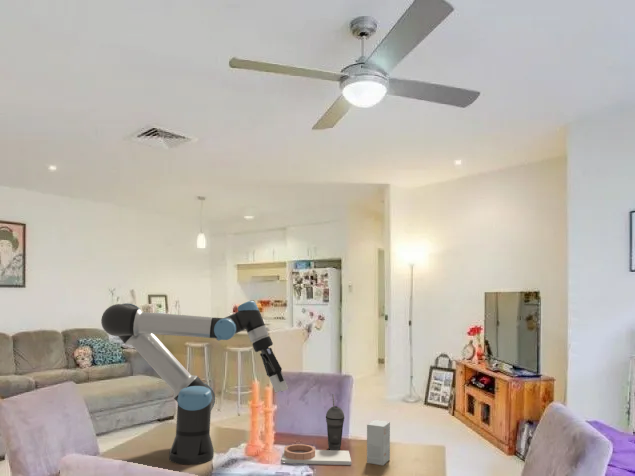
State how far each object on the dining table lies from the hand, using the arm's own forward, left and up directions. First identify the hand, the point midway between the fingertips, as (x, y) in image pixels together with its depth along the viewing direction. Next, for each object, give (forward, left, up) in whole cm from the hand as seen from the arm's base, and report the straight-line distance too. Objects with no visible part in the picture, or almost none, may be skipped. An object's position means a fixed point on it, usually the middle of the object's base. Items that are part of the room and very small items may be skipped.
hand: (281, 390), depth 186 cm
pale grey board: (+14, -11, -21) cm, 27 cm away
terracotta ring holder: (+8, -11, -20) cm, 24 cm away
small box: (+36, -12, -21) cm, 43 cm away
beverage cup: (+21, +1, -21) cm, 30 cm away
